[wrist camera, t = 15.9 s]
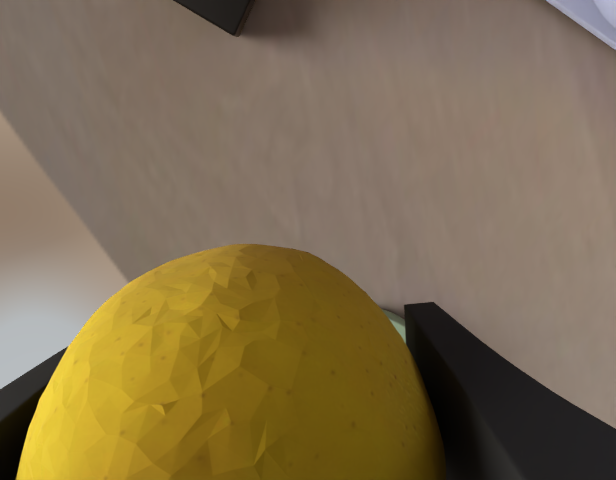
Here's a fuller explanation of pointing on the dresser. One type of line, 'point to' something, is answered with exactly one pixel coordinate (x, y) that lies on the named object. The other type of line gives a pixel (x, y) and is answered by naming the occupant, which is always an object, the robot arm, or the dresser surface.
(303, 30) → the dresser surface
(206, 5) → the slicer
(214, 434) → the apple
